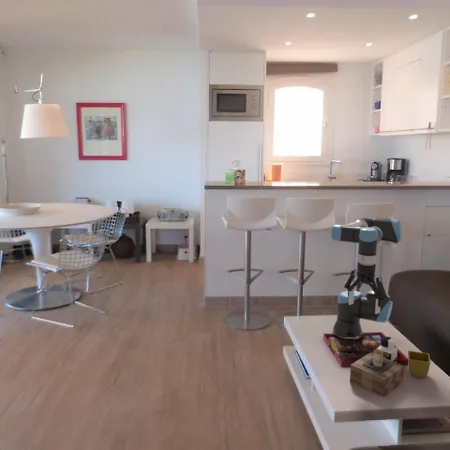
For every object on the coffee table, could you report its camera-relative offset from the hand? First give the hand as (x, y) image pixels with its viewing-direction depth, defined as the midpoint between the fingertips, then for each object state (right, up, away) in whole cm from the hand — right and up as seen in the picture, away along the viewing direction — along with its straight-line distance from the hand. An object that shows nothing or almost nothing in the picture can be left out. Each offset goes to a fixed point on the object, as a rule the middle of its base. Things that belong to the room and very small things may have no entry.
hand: (364, 308), depth 204 cm
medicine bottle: (+13, -27, +10) cm, 32 cm away
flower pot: (+23, -29, -1) cm, 38 cm away
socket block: (+3, -31, -7) cm, 32 cm away
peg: (+3, -25, -9) cm, 26 cm away
